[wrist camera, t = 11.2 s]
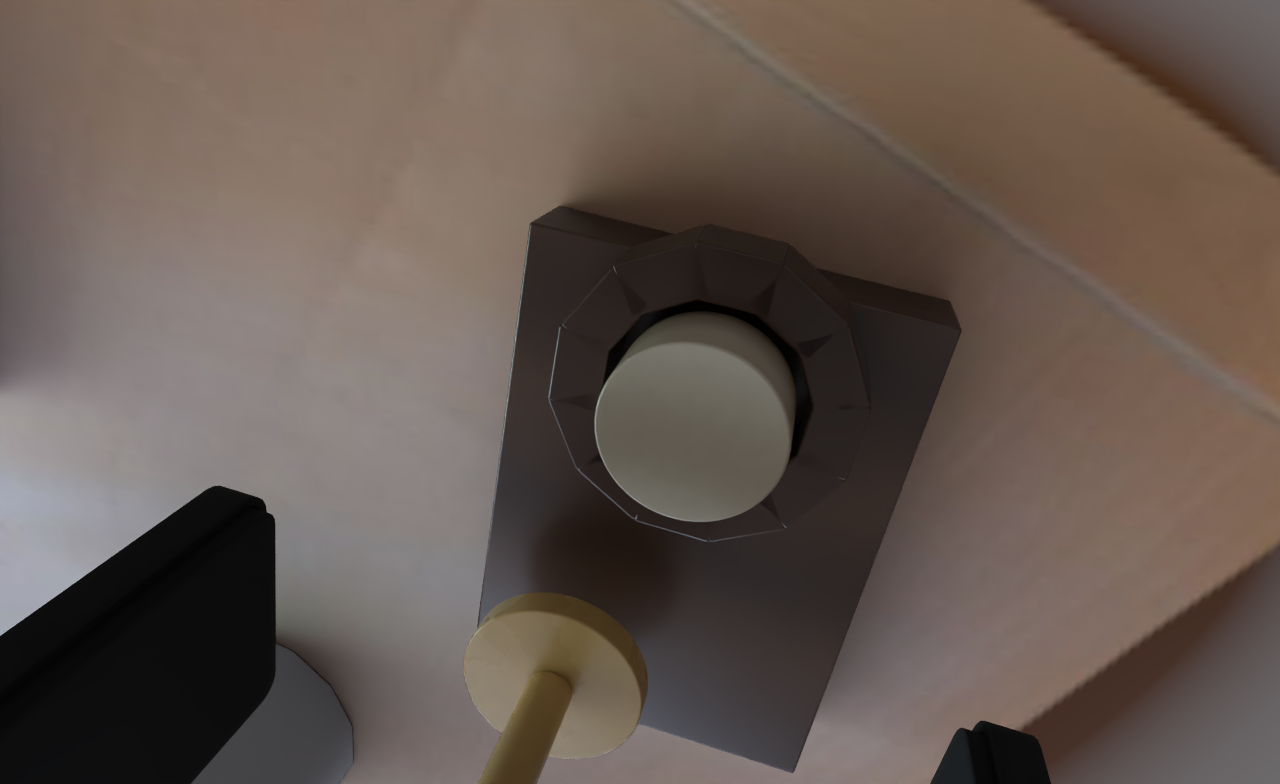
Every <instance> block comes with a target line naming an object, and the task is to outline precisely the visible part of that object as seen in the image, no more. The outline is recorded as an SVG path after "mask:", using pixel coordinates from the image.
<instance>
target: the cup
mask: <svg viewBox="0 0 1280 784" xmlns="http://www.w3.org/2000/svg"><path fill="white" fill-rule="evenodd" d="M352 764H353V736H352V725H351V723H350V721H349V719H348V718H347V716H346V714H345V712H344V710H343V708H342V706H341V705H340V703H339V701H338V699H337V697H336V695H335V693H334V692H333V690H332V688H331V686H330V685H329V684H328V683H327V682H325V681H324V680H323V679H322V678H321V677H320V676H319V675H318V674H317V673H316V672H314V671H313V670H312V669H311V668H310V667H309V666H308V665H307V664H306V663H305V662H304V661H302V660H301V659H300V658H299V657H298V656H297V655H296V654H295V653H294V652H293V651H291V650H289V649H286V648H284V647H282V646H280V645H278V644H276V673H275V678H274V682H273V684H272V687H271V689H270V691H269V693H268V695H267V696H266V698H265V699H264V701H263V702H262V703H261V704H260V705H259V707H258V708H257V709H256V710H255V711H254V712H253V713H252V715H251V716H250V717H249V718H248V719H247V720H246V721H245V723H244V724H243V725H242V726H241V727H240V728H239V729H238V731H237V732H236V733H235V734H234V735H233V736H232V737H231V739H230V740H229V741H228V742H227V743H226V744H225V745H224V747H223V748H222V749H221V750H220V751H219V752H218V753H217V755H216V756H215V757H214V758H213V759H212V760H211V761H210V763H209V764H208V765H207V766H206V767H205V768H204V769H203V771H202V772H201V773H200V774H199V775H198V776H197V777H196V779H195V780H194V781H193V782H192V783H191V784H339V783H340V782H341V780H342V779H343V777H344V776H345V774H346V773H347V771H348V770H349V768H350V767H351V765H352Z"/></svg>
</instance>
